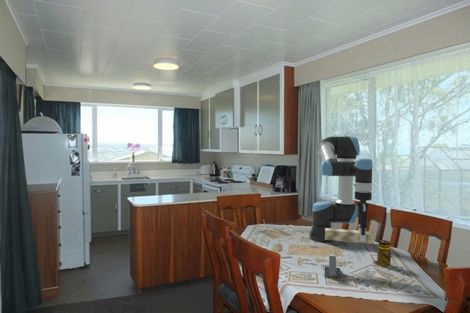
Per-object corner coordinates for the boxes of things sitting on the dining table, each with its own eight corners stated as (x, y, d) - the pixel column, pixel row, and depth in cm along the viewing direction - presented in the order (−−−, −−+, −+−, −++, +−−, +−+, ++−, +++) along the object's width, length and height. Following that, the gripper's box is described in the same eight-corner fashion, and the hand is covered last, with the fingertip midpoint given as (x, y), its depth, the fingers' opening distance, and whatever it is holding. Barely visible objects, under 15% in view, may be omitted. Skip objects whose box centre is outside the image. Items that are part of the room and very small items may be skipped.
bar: (325, 239, 156) (325, 230, 156) (325, 237, 160) (325, 228, 160) (374, 243, 150) (374, 234, 150) (372, 240, 154) (372, 231, 154)
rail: (324, 268, 156) (325, 255, 156) (339, 270, 154) (340, 256, 154) (324, 276, 146) (324, 262, 146) (340, 278, 144) (341, 264, 144)
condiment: (390, 268, 156) (391, 244, 156) (371, 265, 161) (372, 241, 160) (391, 263, 163) (392, 240, 162) (373, 260, 167) (374, 237, 166)
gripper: (353, 188, 162) (352, 234, 163) (356, 193, 145) (355, 244, 146) (369, 189, 160) (368, 235, 161) (374, 194, 143) (373, 246, 144)
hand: (361, 239), depth 154 cm, fingers closed on bar, 4 cm apart
